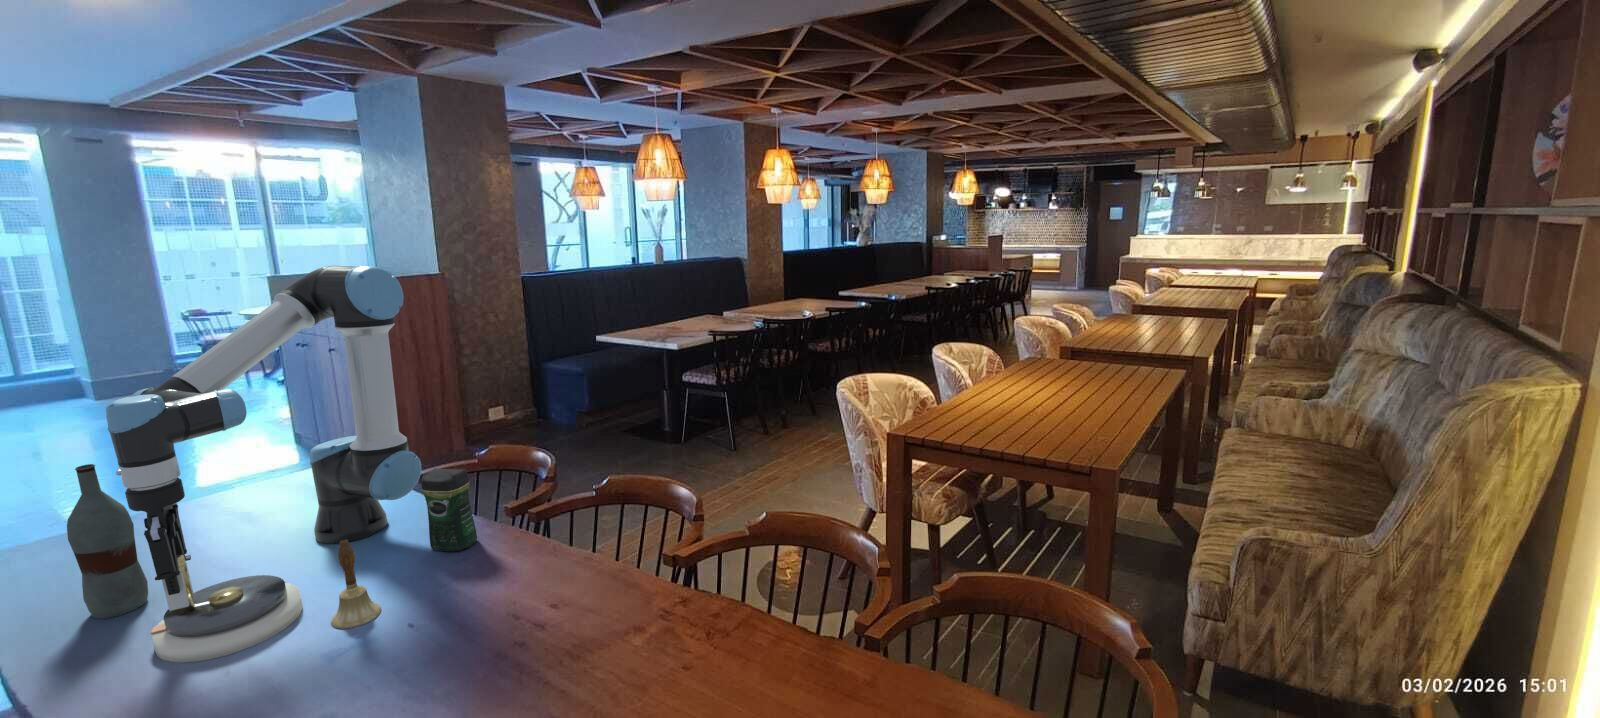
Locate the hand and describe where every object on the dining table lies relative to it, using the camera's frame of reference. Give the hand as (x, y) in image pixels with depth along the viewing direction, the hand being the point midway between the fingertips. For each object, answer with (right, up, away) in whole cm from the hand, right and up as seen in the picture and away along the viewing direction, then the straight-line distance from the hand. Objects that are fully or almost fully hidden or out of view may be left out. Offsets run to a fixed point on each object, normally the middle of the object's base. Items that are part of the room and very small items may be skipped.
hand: (181, 601), depth 131 cm
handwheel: (+6, -3, +4) cm, 7 cm away
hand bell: (+28, -5, +7) cm, 29 cm away
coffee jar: (+33, +1, +35) cm, 48 cm away
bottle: (-23, -5, +12) cm, 26 cm away
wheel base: (+6, -6, +4) cm, 10 cm away
